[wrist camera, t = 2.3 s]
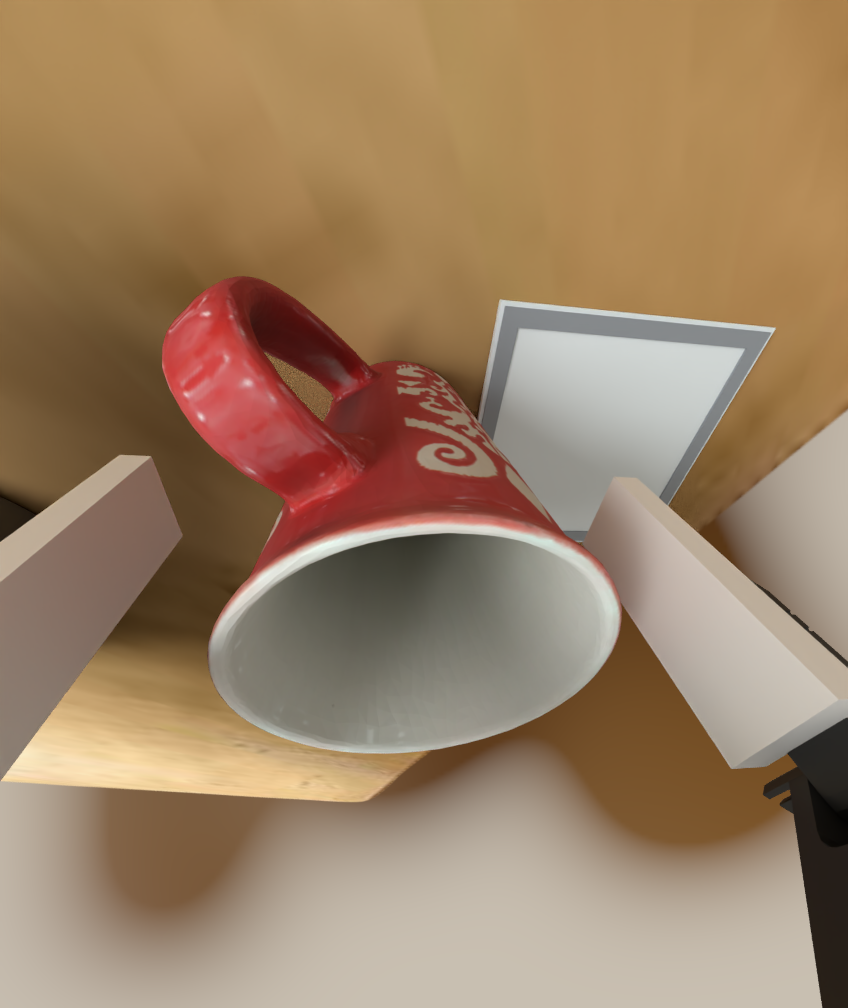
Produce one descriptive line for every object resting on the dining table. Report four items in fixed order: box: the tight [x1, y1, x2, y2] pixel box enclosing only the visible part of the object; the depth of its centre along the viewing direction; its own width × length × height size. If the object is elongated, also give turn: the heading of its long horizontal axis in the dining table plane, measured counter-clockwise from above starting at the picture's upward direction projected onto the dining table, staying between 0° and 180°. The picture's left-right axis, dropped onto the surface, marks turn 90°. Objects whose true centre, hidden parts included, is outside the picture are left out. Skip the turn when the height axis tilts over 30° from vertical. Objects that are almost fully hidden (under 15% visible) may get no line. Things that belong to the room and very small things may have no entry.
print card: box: [477, 299, 776, 542], centre depth 20 cm, size 14×14×1 cm
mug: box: [162, 276, 622, 753], centre depth 12 cm, size 13×9×14 cm
